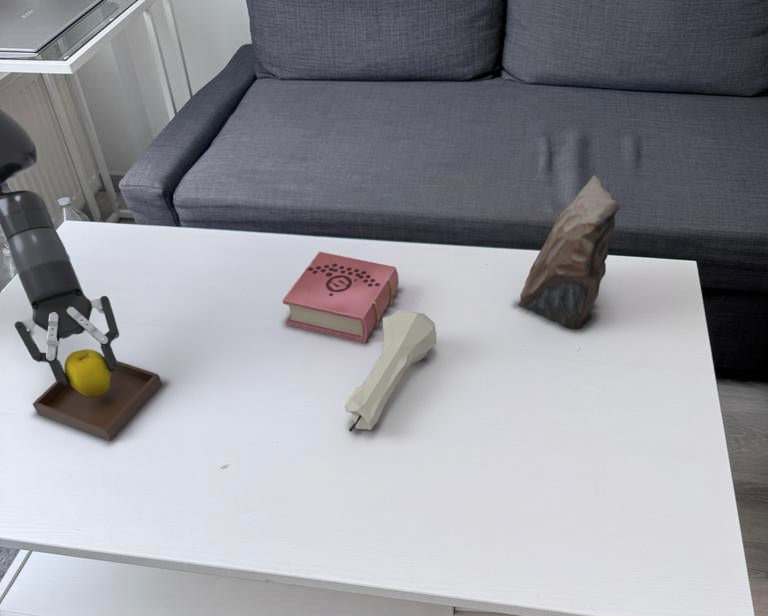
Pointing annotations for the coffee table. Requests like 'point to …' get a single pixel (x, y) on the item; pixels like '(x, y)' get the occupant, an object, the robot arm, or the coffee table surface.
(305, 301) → the book
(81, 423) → the tray
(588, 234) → the brown rock
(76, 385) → the apple
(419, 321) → the faceted club
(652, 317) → the coffee table surface
